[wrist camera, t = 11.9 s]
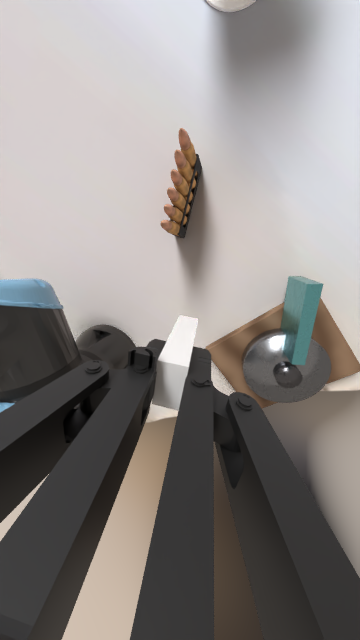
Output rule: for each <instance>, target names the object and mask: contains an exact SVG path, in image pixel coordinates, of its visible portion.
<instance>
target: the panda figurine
mask: <svg viewBox="0 0 360 640" xmlns="http://www.w3.org/2000/svg"><path fill="white" fill-rule="evenodd" d="M206 1H207V2H208V3H209V4H210V5H211V6H212V7H214V8H215V9H217V10H220V11H223V12H236V11H240V10H242V9H245V8H246V7H248V6H250V5H251V4H253V3H254V2H255V1H257V0H206Z"/></svg>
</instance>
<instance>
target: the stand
mask: <svg viewBox="0 0 360 640" xmlns="http://www.w3.org/2000/svg"><path fill="white" fill-rule="evenodd" d="M283 309H284V303H282V304H280V305H278V306H277V307H275V308H273V309H271V310H270V311H268V312H266V313H264V314H263V315H261V316H259V317H257V318H256V319H254V320H252V321H250V322H249V323H247V324H245V325H243V326H242V327H240V328H238V329H236V330H235V331H233V332H231V333H229V334H227V335H226V336H224V337H222V338H220V339H219V340H217V341H215V342H213V343H212V344H210V345H208V346H206V349H207V350H209V352H210V353H211V359H212V361H213V362H214V363H215V365H216V366H217V367H218V368H219V370H220V371H221V372H222V374H223V375H224V376H225V377H226V379H227V380H228V381H229V383H230V384H231V385H232V387H233V388H234V389H235V390H236V392H241V393H245V394H247V395H249V396H251V397H252V398H254V399H255V400H256V401H257V403H258V404H259V405H260V407H261V409H262V408H264V407H267V406H269V405H272V404H274V403H278V402H274V401H270V400H267V399H264V398H262V397H260V396H259V395H257V394H256V393H255V392H253V391H252V390H251V389H250V387H249V386H248V385H247V383H246V381H245V378H244V373H243V368H242V355H243V352H244V350H245V348H246V346H247V345H248V343H249V342H250V341H251V340H252V339H254V338H255V337H256V336H258V335H259V334H261V333H263V332H265V331H268V330H272V329H277V328H280V327H281V321H282V315H283ZM311 337H312V338H313V339H314V340H315V341H316V342H317V343H319V344H320V345H321V346H322V347H323V348H324V350H325V351H326V352H327V354H328V356H329V358H330V361H331V374H330V377H329V379H328V381H327V383H326V384H328V383H330V382H333V381H336V380H338V379H341V378H344V377H346V376H349V375H351V374H354V373H357V372H359V371H360V364H359V362H358V360H357V359H356V357H355V355H354V354H353V352H352V350H351V348H350V347H349V345H348V343H347V342H346V340H345V338H344V337H343V335H342V333H341V332H340V330H339V328H338V326H337V325H336V323H335V321H334V320H333V318H332V316H331V315H330V313H329V311H328V310H327V308H326V306H325V305H324V303H323V301H322V299H321V298H320V300H319V305H318V309H317V313H316V318H315V322H314V327H313V331H312V336H311Z"/></svg>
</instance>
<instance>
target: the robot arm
mask: <svg viewBox="0 0 360 640" xmlns="http://www.w3.org/2000/svg"><path fill="white" fill-rule="evenodd" d="M62 309H63V306H62V305H61V304H60V302H59V300H58V298H57V296H56V294H55V292H54V289H53V288H52V286H51V285H50V284H49V283H48V282H46V281H44V280H41V279H8V280H0V523H1V522H2V521H3V520H4V519H5V518H6V517H7V516H8V515H9V514H10V513H11V512H12V511H13V510H14V508H16V507H17V506H18V505H19V504H20V503H21V501H23V500H24V498H25V497H26V496H27V495H28V494H29V493H30V492H31V491H32V490H33V489H34V488H35V487H36V486H37V485H38V484H39V483H40V482H41V481H42V480H43V479H44V478H45V477H46V476H47V475H48V474H49V473H50V474H49V475H48V476H47V478H46V479H45V481H44V482H43V483H42V485H41V486H40V488H39V489H38V490H37V492H36V493H35V494H34V496H33V497H32V499H31V500H30V501H29V503H28V504H27V506H26V507H25V509H24V510H23V511H22V512H21V514H20V515H19V517H18V518H17V519H16V521H15V522H14V524H13V525H12V526H11V528H10V529H9V530H8V532H7V533H6V535H5V536H4V538H3V539H2V540H1V541H0V640H61V639H62V637H63V634H64V632H65V629H66V626H67V624H68V621H69V619H70V616H71V614H72V611H73V608H74V606H75V603H76V600H77V598H78V595H79V593H80V590H81V587H82V585H83V582H84V580H85V577H86V575H87V572H88V569H89V567H90V564H91V562H92V559H93V556H94V554H95V551H96V549H97V546H98V543H99V541H100V538H101V536H102V533H103V530H104V528H105V525H106V523H107V520H108V517H109V515H110V512H111V510H112V507H113V504H114V502H115V499H116V496H117V494H118V491H119V489H120V486H121V484H122V481H123V478H124V476H125V473H126V471H127V468H128V465H129V463H130V460H131V458H132V455H133V452H134V450H135V447H136V445H137V442H138V440H139V436H140V434H141V432H142V429H143V426H144V424H145V421H146V419H147V416H148V414H149V408H150V403H151V401H152V404H154V405H158V406H162V407H166V408H171V409H175V410H179V411H178V416H177V421H176V425H175V430H174V435H173V439H172V444H171V449H170V453H169V458H168V463H167V468H166V472H165V477H164V482H163V486H162V491H161V496H160V500H159V505H158V510H157V515H156V519H155V525H154V529H153V533H152V538H151V543H150V547H149V553H148V557H147V562H146V567H145V571H144V576H143V580H142V585H141V590H140V595H139V600H138V604H137V609H136V613H135V618H134V623H133V627H132V632H131V637H130V640H214V518H213V517H214V507H213V506H214V500H213V499H214V492H213V488H214V487H213V486H214V485H213V484H214V482H213V481H214V479H213V477H214V474H213V441H215V445H216V449H217V453H218V457H219V461H220V465H221V469H222V473H223V477H224V481H225V485H226V489H227V493H228V497H229V501H230V506H231V509H232V514H233V518H234V522H235V526H236V530H237V533H238V538H239V542H240V546H241V550H242V553H243V558H244V561H245V566H246V570H247V573H248V578H249V581H250V586H251V590H252V594H253V597H254V602H255V606H256V610H257V614H258V618H259V622H260V625H261V630H262V634H263V638H264V640H360V578H359V576H358V575H357V573H356V571H355V569H354V568H353V566H352V564H351V563H350V561H349V559H348V557H347V556H346V554H345V552H344V551H343V549H342V547H341V545H340V544H339V542H338V540H337V538H336V537H335V535H334V533H333V531H332V530H331V528H330V526H329V525H328V523H327V521H326V519H325V518H324V516H323V514H322V512H321V511H320V509H319V507H318V506H317V504H316V502H315V501H314V499H313V497H312V495H311V494H310V492H309V490H308V488H307V487H306V485H305V483H304V481H303V480H302V478H301V476H300V474H299V473H298V471H297V469H296V468H295V466H294V464H293V462H292V461H291V459H290V457H289V455H288V454H287V452H286V450H285V449H284V447H283V445H282V443H281V442H280V440H279V438H278V436H277V435H276V433H275V431H274V430H273V428H272V426H271V424H270V423H269V421H268V419H267V417H266V416H265V414H264V412H263V411H262V409H261V407H260V405H259V404H258V403H257V401H256V400H255V399H254V398H252V397H251V396H249V395H247V394H245V393H241V392H234V393H232V394H230V396H227V395H225V394H223V393H221V392H220V391H218V390H217V389H216V388H215V387H214V386H213V383H212V381H211V353H210V352H209V350H207V349H202V348H198V347H193V343H194V338H195V333H196V328H197V323H198V319H197V318H192V317H187V316H182V315H180V316H179V318H178V320H177V322H176V324H175V326H174V328H173V330H172V332H171V334H170V336H169V338H168V340H167V341H162V340H158V339H154V340H152V341H150V342H149V343H148V345H147V347H135V345H134V343H133V342H132V340H131V339H130V338H129V337H128V336H127V335H126V334H125V333H124V332H122V331H121V330H119V329H117V328H115V327H112V326H108V325H96V326H93V327H91V328H89V329H88V330H86V331H85V332H83V333H82V334H81V335H80V336H79V337H78V339H77V340H76V342H75V340H74V338H73V335H72V333H71V330H70V328H69V325H68V322H67V320H66V317H65V315H64V312H63V310H62ZM152 398H153V399H152Z"/></svg>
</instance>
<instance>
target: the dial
mask: <svg viewBox="0 0 360 640" xmlns="http://www.w3.org/2000/svg"><path fill="white" fill-rule="evenodd" d="M322 287H323V284H322V283H319V282H316V281H313V280H310V279H307V278H304V277H301V276H289V277H288V284H287V290H286V296H285V302H284V309H283V315H282V321H281V327H280V328H277V329H272V330H268V331H265V332H263V333H261V334H259V335H258V336H256V337H255V338H254V339H252V340H251V341H250V342H249V343H248V345H247V346H246V348H245V350H244V352H243V355H242V368H243V373H244V378H245V381H246V383H247V385H248V386H249V387H250V389H251V390H252V391H253V392H255V393H256V394H257V395H259V396H260V397H262V398H264V399H267V400H270V401H274V402H281V403H289V402H297V401H301V400H304V399H307V398H309V397H311V396H312V395H314V394H316V393H317V392H319V391H320V390H321V389H322V388H323V387H324V386H325V384H326V383H327V381H328V379H329V377H330V374H331V361H330V358H329V356H328V354H327V352H326V351H325V350H324V348H323V347H322V346H321V345H320V344H319V343H317V342H316V341H315V340H314V339H313V338H312V337H311V336H312V331H313V327H314V322H315V318H316V313H317V309H318V305H319V300H320V296H321V291H322Z"/></svg>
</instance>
